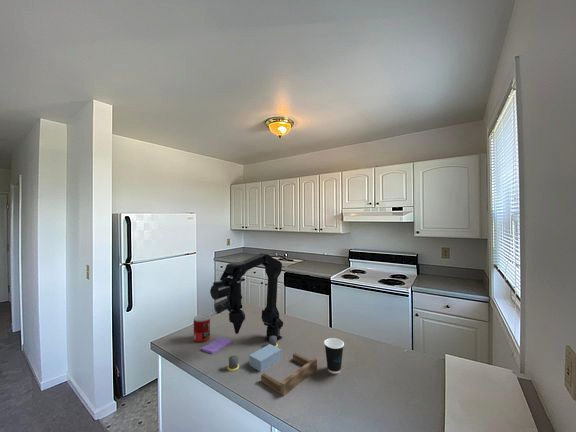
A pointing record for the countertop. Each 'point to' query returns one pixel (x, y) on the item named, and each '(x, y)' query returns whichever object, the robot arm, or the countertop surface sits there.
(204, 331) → the canned food
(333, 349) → the dixie cup
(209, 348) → the sponges
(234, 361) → the bollards
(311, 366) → the bay
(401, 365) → the countertop surface
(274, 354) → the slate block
